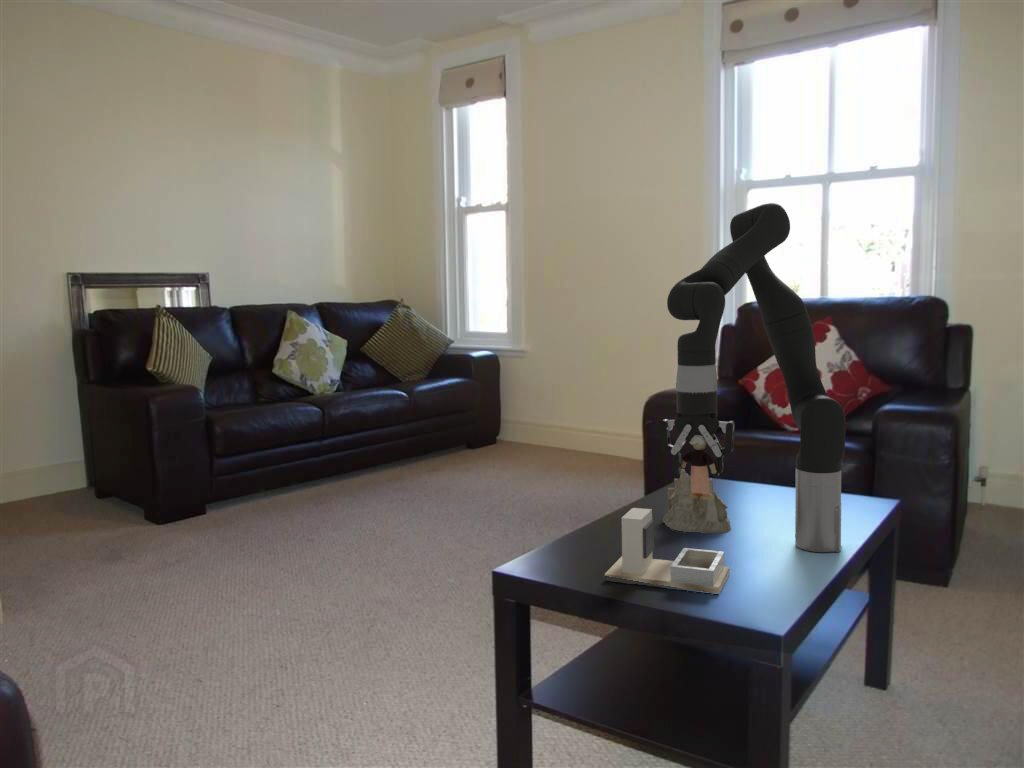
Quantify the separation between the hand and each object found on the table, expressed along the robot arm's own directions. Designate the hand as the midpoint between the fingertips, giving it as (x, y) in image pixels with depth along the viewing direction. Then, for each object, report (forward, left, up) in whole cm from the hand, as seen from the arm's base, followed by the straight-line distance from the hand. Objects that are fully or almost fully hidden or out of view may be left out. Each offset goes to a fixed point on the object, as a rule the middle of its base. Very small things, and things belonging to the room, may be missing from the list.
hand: (697, 474), depth 151 cm
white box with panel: (+12, 0, -20) cm, 23 cm away
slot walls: (0, 0, -20) cm, 20 cm away
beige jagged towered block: (+8, -39, -22) cm, 46 cm away
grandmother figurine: (0, 0, -5) cm, 5 cm away
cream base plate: (+6, 0, -21) cm, 22 cm away
